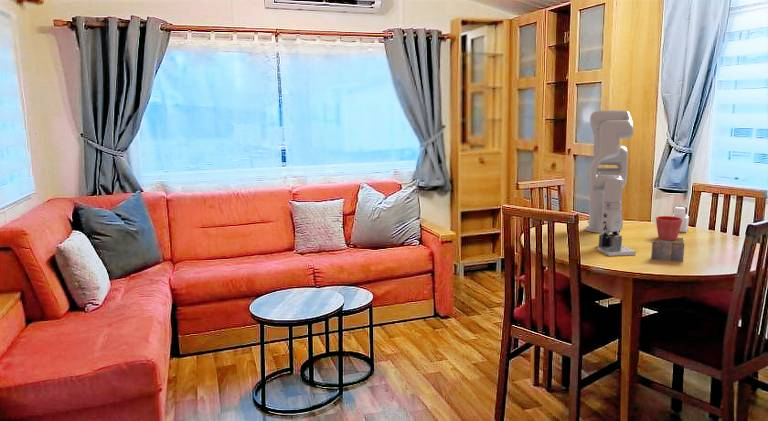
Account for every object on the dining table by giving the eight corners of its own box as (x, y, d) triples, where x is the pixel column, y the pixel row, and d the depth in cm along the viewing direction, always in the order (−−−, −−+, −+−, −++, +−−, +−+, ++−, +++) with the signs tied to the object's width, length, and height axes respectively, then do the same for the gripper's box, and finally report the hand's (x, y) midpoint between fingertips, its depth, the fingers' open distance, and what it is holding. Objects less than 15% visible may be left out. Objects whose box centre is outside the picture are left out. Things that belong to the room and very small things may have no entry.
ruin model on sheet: (681, 260, 230) (683, 236, 229) (683, 262, 228) (684, 238, 226) (650, 258, 234) (652, 235, 232) (651, 260, 231) (653, 236, 229)
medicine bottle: (672, 228, 290) (673, 205, 288) (687, 229, 286) (689, 206, 284) (669, 230, 284) (671, 207, 282) (685, 232, 280) (687, 208, 278)
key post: (597, 250, 247) (597, 236, 246) (623, 249, 248) (624, 235, 247) (608, 256, 237) (609, 241, 236) (635, 254, 238) (636, 240, 237)
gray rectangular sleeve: (598, 246, 255) (599, 234, 254) (606, 244, 258) (607, 232, 257) (613, 248, 249) (614, 237, 248) (621, 246, 252) (622, 235, 252)
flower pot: (675, 242, 260) (676, 221, 259) (650, 238, 268) (652, 218, 267) (684, 238, 267) (686, 218, 266) (660, 235, 275) (662, 215, 274)
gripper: (608, 208, 242) (606, 250, 246) (631, 204, 252) (628, 244, 255) (592, 206, 248) (591, 246, 252) (615, 202, 258) (613, 241, 261)
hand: (610, 245), depth 253 cm, fingers closed on gray rectangular sleeve, 6 cm apart
